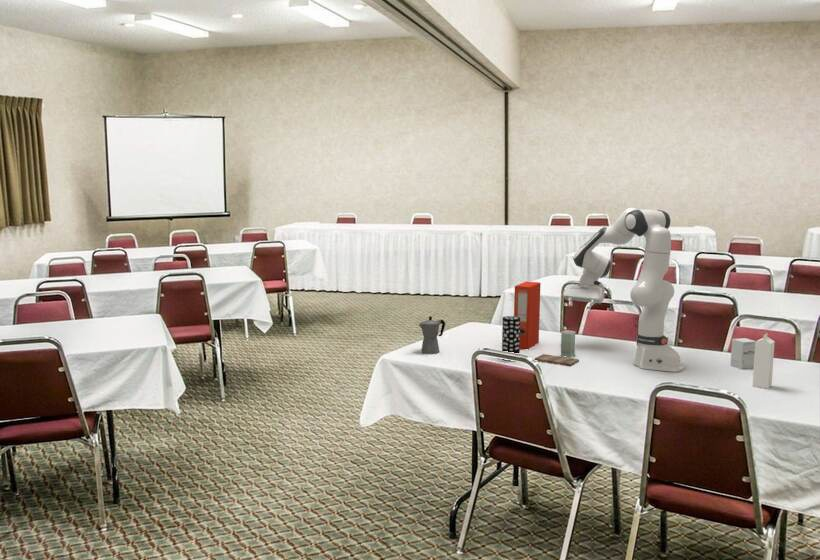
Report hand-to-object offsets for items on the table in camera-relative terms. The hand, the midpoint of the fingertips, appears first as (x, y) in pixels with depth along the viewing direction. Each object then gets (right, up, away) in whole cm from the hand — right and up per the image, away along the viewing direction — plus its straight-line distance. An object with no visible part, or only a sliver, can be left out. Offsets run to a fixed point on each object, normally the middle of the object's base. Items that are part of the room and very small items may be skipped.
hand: (579, 307), depth 364 cm
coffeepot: (-73, -22, +2) cm, 76 cm away
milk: (+62, -31, -59) cm, 91 cm away
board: (-15, -25, -18) cm, 34 cm away
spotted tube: (-36, -24, -13) cm, 45 cm away
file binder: (-24, -20, +14) cm, 34 cm away
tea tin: (-7, -23, -7) cm, 25 cm away
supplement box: (+68, -26, -29) cm, 78 cm away
